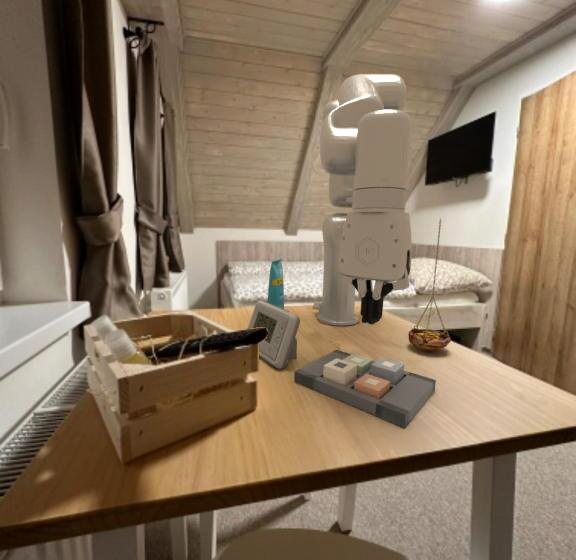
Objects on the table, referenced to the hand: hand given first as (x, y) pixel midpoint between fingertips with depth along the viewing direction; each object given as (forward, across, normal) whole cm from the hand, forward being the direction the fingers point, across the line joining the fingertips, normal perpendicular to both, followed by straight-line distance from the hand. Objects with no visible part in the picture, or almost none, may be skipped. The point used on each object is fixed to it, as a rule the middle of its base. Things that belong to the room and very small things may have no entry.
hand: (370, 321), depth 51 cm
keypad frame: (+13, -2, +3) cm, 13 cm away
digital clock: (+13, -24, +2) cm, 27 cm away
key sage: (+12, -5, +6) cm, 15 cm away
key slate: (+11, +1, +6) cm, 13 cm away
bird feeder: (+13, +1, +29) cm, 32 cm away
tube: (+13, -33, +14) cm, 38 cm away
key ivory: (+11, -5, 0) cm, 12 cm away
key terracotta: (+12, +1, 0) cm, 12 cm away
